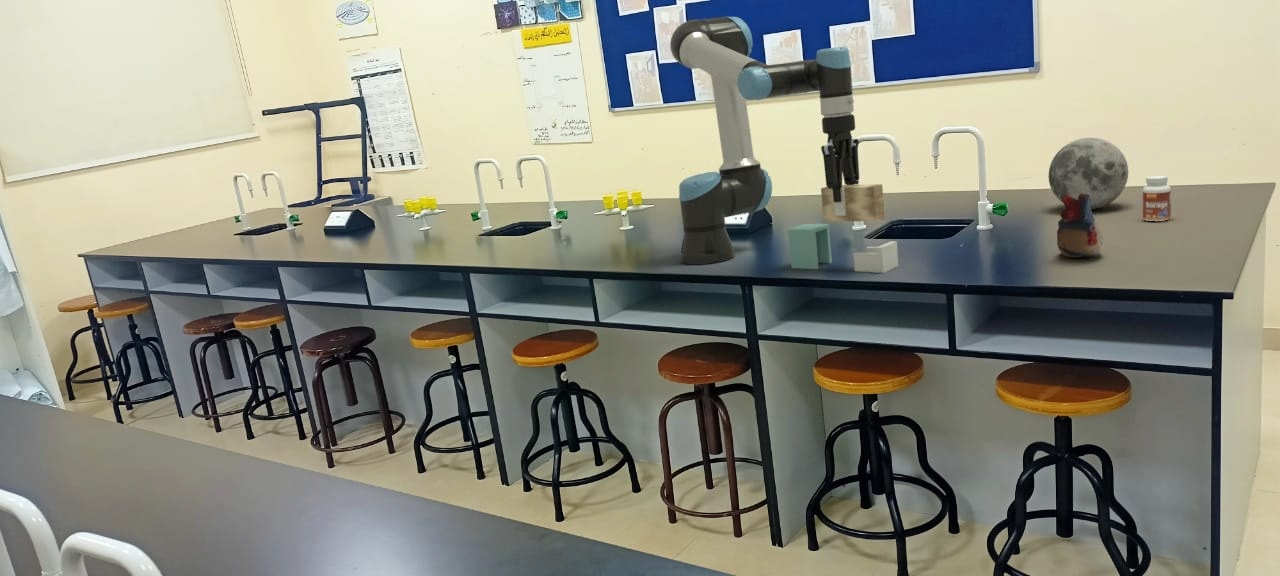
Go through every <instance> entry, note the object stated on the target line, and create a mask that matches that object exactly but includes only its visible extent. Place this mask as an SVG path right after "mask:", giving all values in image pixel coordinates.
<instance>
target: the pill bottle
mask: <svg viewBox="0 0 1280 576" xmlns="http://www.w3.org/2000/svg"><path fill="white" fill-rule="evenodd" d="M1145 183H1146V184H1147V185H1146V186H1144V187H1143V188H1142V189H1143V190H1142V220H1143V219H1148V220H1163V219H1169V218H1170V219H1171V217H1172V216H1171V214H1172V213H1171V209H1172V199H1171V198H1172V188H1171V186H1170V185H1169V184H1168V176H1167V175H1150V176H1147V177H1146V179H1145Z"/></svg>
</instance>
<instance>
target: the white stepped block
mask: <svg viewBox="0 0 1280 576" xmlns="http://www.w3.org/2000/svg"><path fill="white" fill-rule="evenodd" d="M852 254H853V255H852V256H853V264H854V265H853V267H854V272H866V273H877V274H884V273H885V274H886V273H888V272H889V271H891V270H894V269H895V268H897V267H899V252H898V241H897V240H895V241H894V240H893V241H892V240H890V241H887V242H886V243H883V244H881V245H879V246H867V247H866V252H863V251H862V252H853V253H852Z"/></svg>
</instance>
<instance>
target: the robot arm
mask: <svg viewBox="0 0 1280 576" xmlns="http://www.w3.org/2000/svg"><path fill="white" fill-rule="evenodd" d="M669 43H670V44H669V46H670V51H671V54H672V57H673V58H674V59H675V60H676V62H677V63H679V64H680V65H681V66H684V67H686V68H688V69H694V70H695V69H698V70H699V69H700V70H702V71H704V72H705V73H707V74H708V75H710V78H711V85H712V90H713V91H712V92H713V98H714V105H715V113H716V119H717V125H718V126H717V127H718V134H719V140H720V141H719V142H720V149H721V154H722V161H723V162H722V164H721V165H720V167H719V168H718V171H719V172H718V171H709V172H708V171H707V172H704V173H698V174H694V175H692V176H689V177H687V178H684V179H682V181H681V182H680V183H679V185H678V186H679V187H678V189H679V190H678V191H679V192H678V193H679V196H678V198H679V202H680V210H681V219H682V226H683V236H682V237H683V239H682V243H681V251H680V253H679V254H680V255H679V256H680V262H681V263H682V264H686V265H707V264H714V263H715V264H716V263H720V262H724V261H728V260H731V259H733V258H735V256H736V253H735V247H734V245H733V244H732V240H731V238H730V236H729V234H728V231H727V229H726V228H727V227H726V219H725V218H729V217H733V216H735V217H736V216H739V215H743V214H752V213H755V212H757V211H761V210H763V209H764V208H765V207H767V205H768V203H769V202H770V200H771V197H772V195H773V194H772V192H773V182H772V179H771V176H770V175H769V173H768V171H767V170H766V169H763V168H761V162H760V161H759V160H757V159H756V158H755V157H754V156H755V155H754V149H753V143H752V136H751V127H750V121H749V120H750V118H749V112H748V106H747V105H748V104H747V100H748V101H749V100H750V101H752V100H753V101H754V100H755V101H760V100H764V99H769V98H776V97H782V96H791V95H797V94H806V93H813V92H819V101H820V103H819V104H820V114H821V116H822V119H821V125H822V126H821V127H822V133H823V134H827V144H826V145H821V148H820V149H821V153H822V157H823V164H824V165H823V166H824V174H825V185H826V186H825V187H828V189H832V190H833V200H834V212H835V216H845V215H846V203H845V191H844V188H842V185H843V182H844V185H859V182H860V167H859V163H860V162H859V150H858V149H859V139H858V138H853V136H852V133H851V132H852V131H854V130H855V129H856V121H855V115H854V114H852V113H853V112H854V111H855V110H854V102H855V100H854V97H853V96H854V95H853V94H854V93H853V79H852V63H851V57H850V56H851V55H850V50H849V48H848V47H847V46H837V47H830V48H822V49H818V50H817V51H816V58H815V59H807V60H797V61H792V62H784V63H774V64H766V63H764V62H761V61H758V60H756V59H753V58H752V57H749V56H750V55H751V53H752V48H753V44H754V43H753V36H752V33H751V29H750V28H749V26H748V23H746V22H745V21H744V20H743V19H742V18H740V17H737V16H721V17H709V18H701V19H690V20H688V21H687V20H686V21H685V22H683V23H681V24H680V25H679V26H678V27H676V29H675V30H674V31H673V33H672V36H671V37H670V42H669Z"/></svg>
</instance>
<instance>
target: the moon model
mask: <svg viewBox="0 0 1280 576" xmlns="http://www.w3.org/2000/svg"><path fill="white" fill-rule="evenodd" d="M1128 179H1129V165H1128V162H1127V158H1126V157H1125V155H1124V154H1123V152H1122V151H1121V149H1120V148H1118V147H1117V146H1116V145H1115V144H1113V143H1111V142H1110V141H1108V140H1105V139H1103V138H1102V139H1101V138H1097V137H1084V138H1079V139H1076V140H1073V141H1071V142H1069V143H1068V144H1066V145H1064V146H1063V147H1062V148H1060V150H1058V152H1057V153H1056V154H1055V155H1054V157H1053V158H1052V160H1051V162H1050V165H1049V169H1048V183H1049V187H1050V189H1051V191H1052V193H1053V194H1054V196H1055V197H1056V199H1058V200H1059V201H1060V202H1061V203H1062V204H1064V203H1063V202H1062V200H1061V196H1062V195H1063V194H1068V195H1070V196H1071V197H1073V198H1075V199H1077V200H1078V196H1079V195H1080V194H1088V195H1090V197H1091V202H1090V208H1091V209H1093V210H1097V209H1096V208H1098V209H1100V208H1104V207H1105V206H1108V205H1110V204H1111V203H1112V202H1114V201H1115V200H1116V199H1118V197H1119V196H1120V195H1121V194H1122V193H1123V191H1124V190H1125V187H1126V185H1127V183H1128Z"/></svg>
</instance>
